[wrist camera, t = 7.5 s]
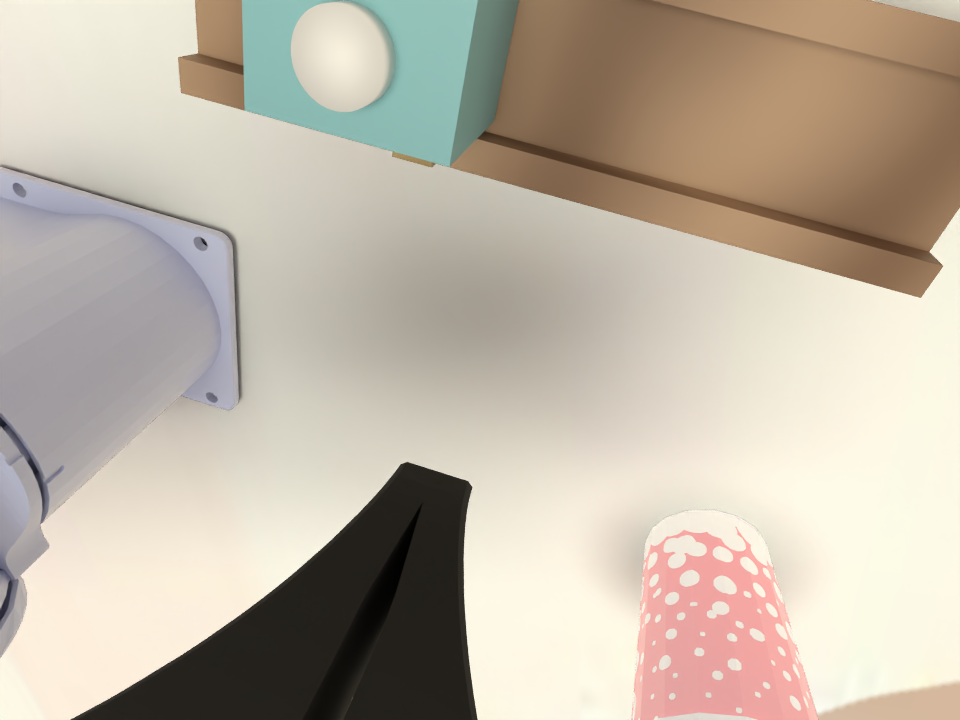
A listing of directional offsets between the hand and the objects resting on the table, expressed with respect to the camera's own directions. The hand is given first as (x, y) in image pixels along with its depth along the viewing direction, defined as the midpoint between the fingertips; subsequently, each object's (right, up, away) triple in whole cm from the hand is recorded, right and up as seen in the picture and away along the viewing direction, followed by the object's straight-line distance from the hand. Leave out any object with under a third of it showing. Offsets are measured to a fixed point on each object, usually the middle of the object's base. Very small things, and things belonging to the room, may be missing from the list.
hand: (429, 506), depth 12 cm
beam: (+4, +11, +4) cm, 12 cm away
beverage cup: (+10, -5, +13) cm, 17 cm away
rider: (0, +10, +2) cm, 10 cm away
